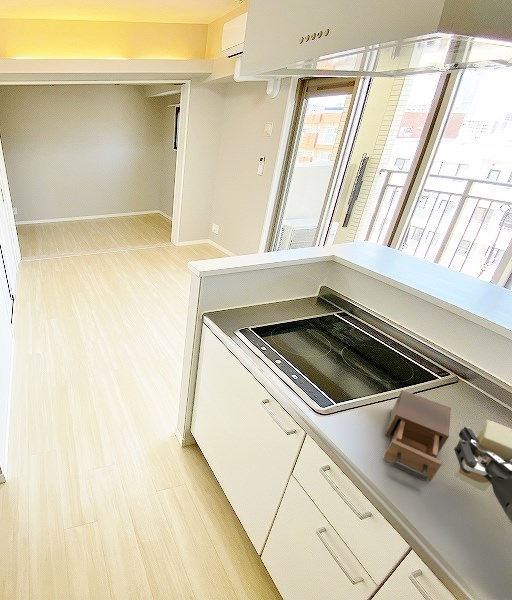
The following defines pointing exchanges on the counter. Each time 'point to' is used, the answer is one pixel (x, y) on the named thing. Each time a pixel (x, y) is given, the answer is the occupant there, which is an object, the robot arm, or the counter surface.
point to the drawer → (414, 450)
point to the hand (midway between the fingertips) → (487, 435)
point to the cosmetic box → (491, 438)
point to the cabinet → (420, 415)
